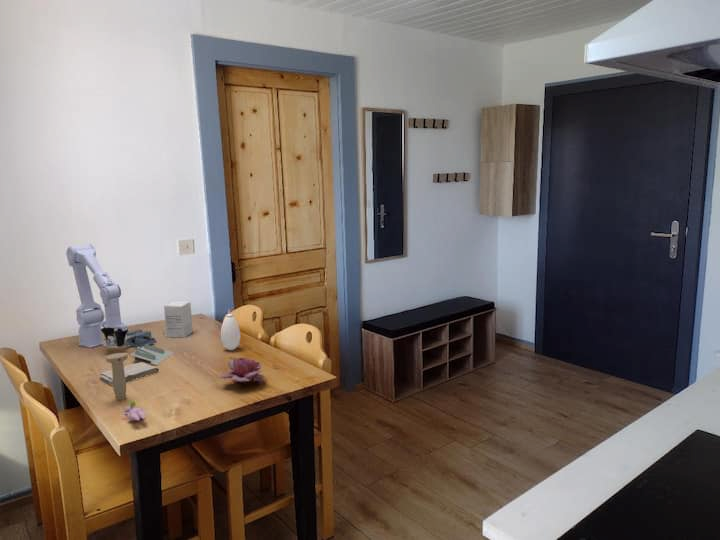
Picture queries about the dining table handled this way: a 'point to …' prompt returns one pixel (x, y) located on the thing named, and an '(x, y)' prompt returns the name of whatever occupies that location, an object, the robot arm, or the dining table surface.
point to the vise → (134, 339)
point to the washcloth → (130, 372)
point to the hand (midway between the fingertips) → (115, 344)
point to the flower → (244, 370)
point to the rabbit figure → (134, 412)
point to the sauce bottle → (230, 332)
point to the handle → (118, 374)
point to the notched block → (113, 339)
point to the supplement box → (178, 319)
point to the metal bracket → (151, 354)
